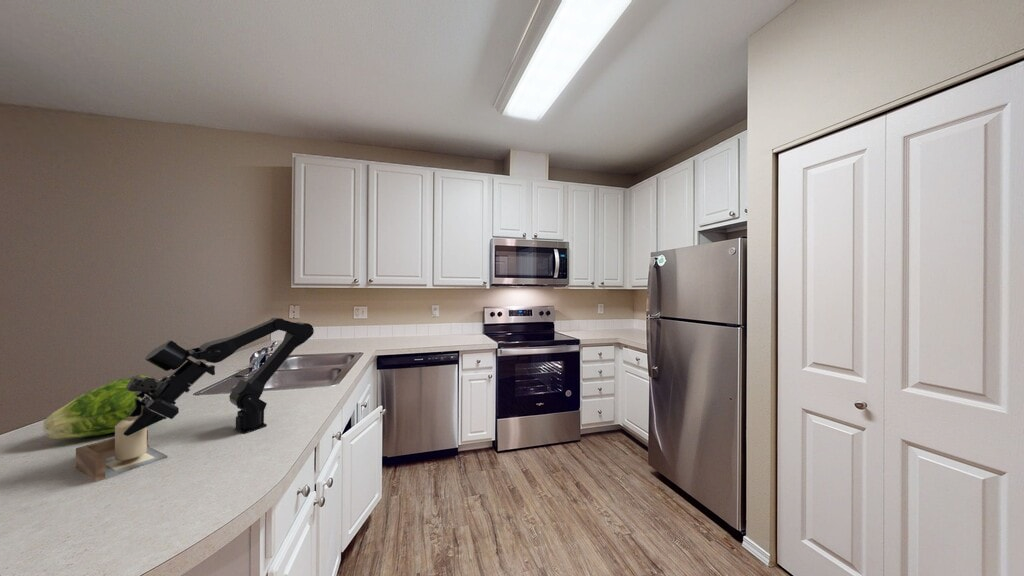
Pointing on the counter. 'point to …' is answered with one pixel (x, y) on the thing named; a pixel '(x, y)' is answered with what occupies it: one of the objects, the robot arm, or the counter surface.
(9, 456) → the counter surface
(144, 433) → the candle
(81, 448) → the frame
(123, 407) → the lettuce
